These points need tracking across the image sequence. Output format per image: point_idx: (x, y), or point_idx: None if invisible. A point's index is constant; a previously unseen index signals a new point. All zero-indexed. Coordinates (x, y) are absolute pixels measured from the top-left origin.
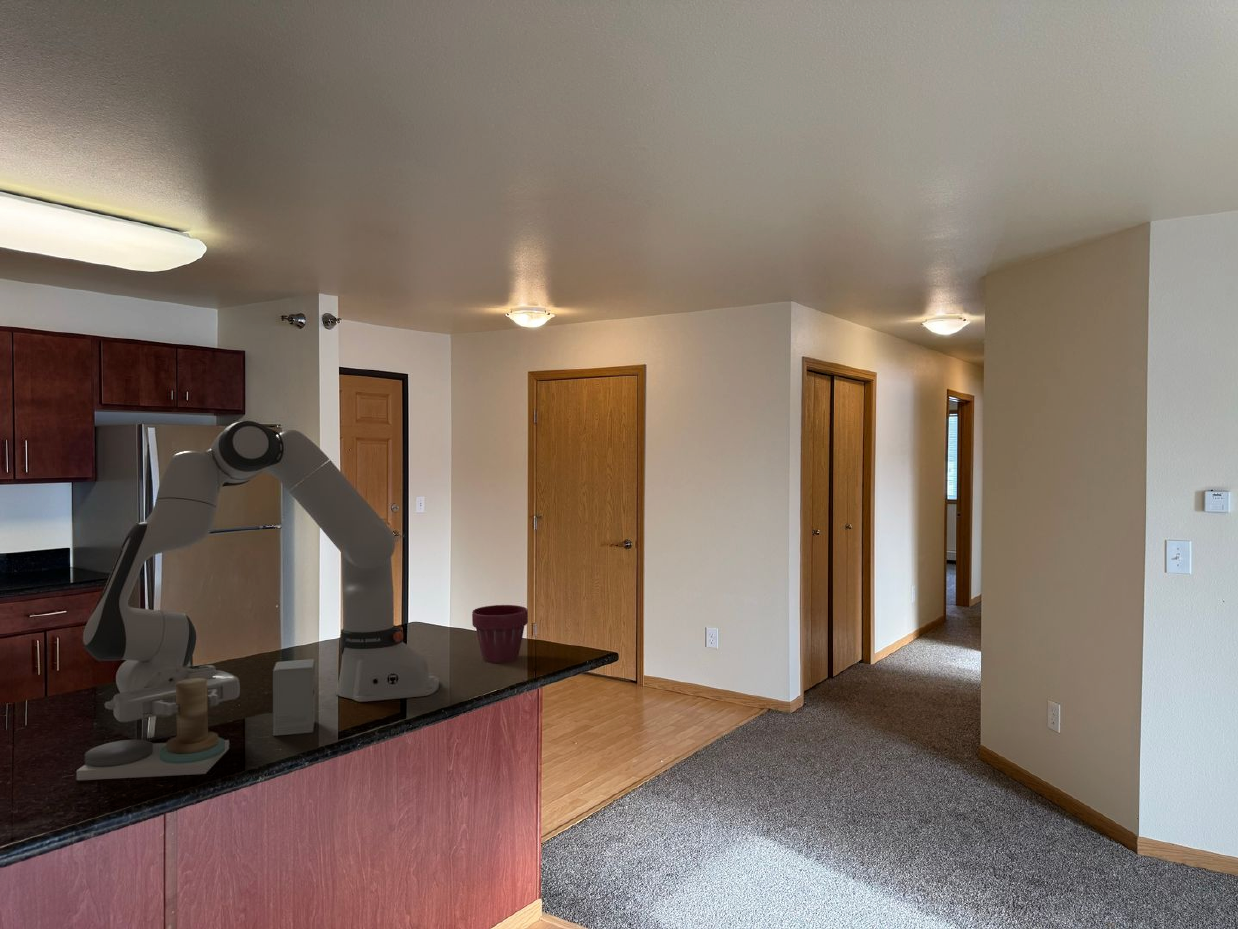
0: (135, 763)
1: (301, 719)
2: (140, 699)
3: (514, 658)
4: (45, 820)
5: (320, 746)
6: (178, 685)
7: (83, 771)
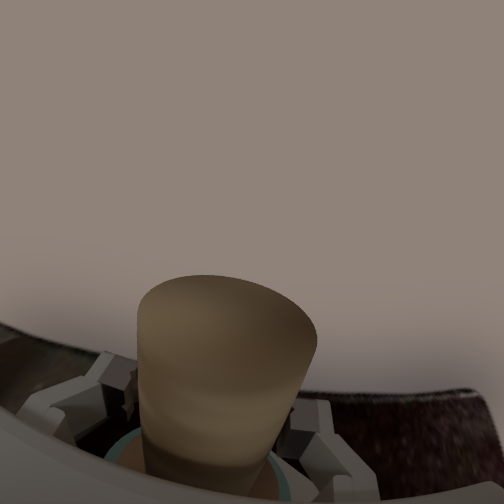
0: None
1: None
2: (445, 494)
3: None
4: (468, 428)
5: (17, 335)
6: (312, 323)
7: None
